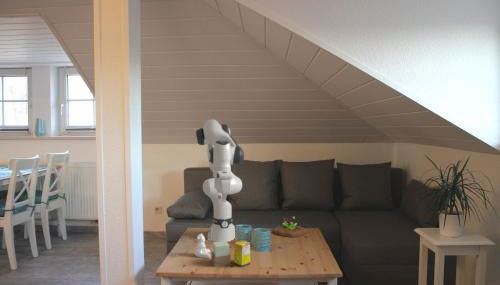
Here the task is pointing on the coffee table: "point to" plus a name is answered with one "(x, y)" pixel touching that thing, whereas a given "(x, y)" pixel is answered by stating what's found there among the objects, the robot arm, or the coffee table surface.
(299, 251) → the coffee table surface
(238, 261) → the supplement box
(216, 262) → the walnut block
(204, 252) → the white creature statuette
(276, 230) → the plant
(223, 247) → the sage block
